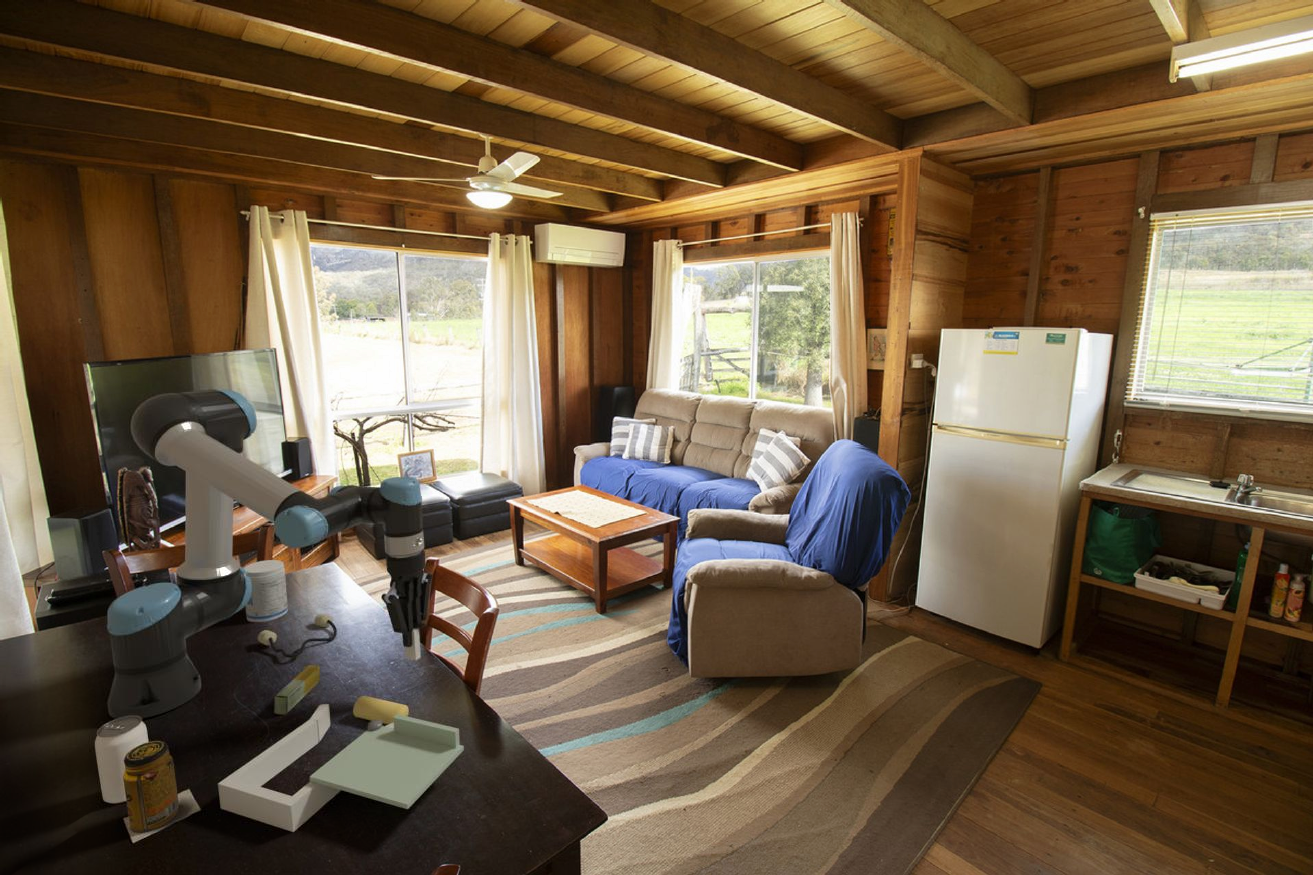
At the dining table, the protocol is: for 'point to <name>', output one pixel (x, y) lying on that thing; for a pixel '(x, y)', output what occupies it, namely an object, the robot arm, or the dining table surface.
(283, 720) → the dining table surface
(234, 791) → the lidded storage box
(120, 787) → the can
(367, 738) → the cover
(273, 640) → the cable
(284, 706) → the medication box
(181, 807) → the condiment
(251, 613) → the supplement tub
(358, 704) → the yellow cardboard tube
